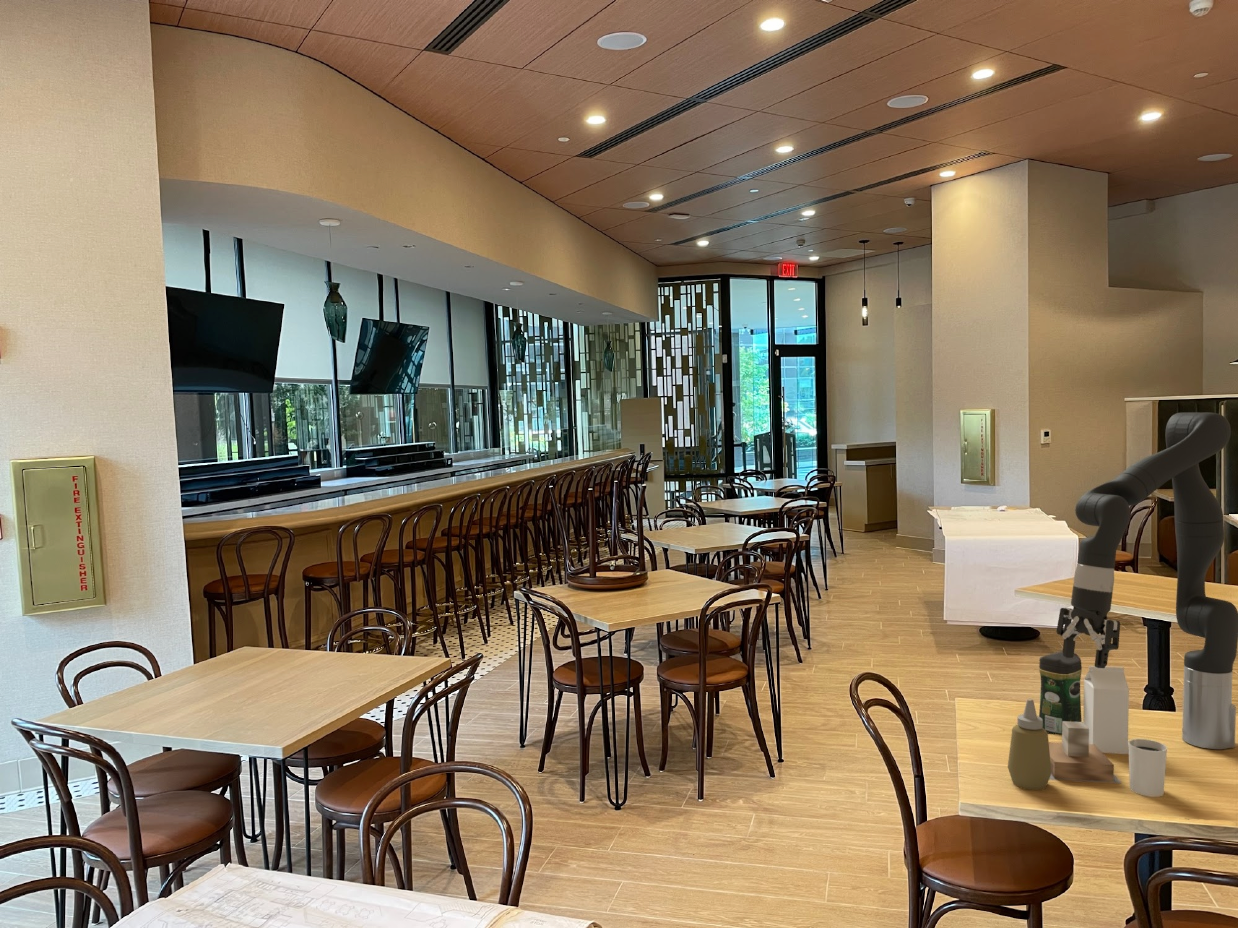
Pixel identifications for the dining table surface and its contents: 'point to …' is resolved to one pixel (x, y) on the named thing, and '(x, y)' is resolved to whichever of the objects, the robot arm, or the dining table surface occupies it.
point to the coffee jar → (1059, 691)
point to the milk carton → (1107, 708)
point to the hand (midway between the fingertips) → (1083, 662)
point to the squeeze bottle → (1029, 751)
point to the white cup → (1147, 767)
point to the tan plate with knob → (1078, 756)
